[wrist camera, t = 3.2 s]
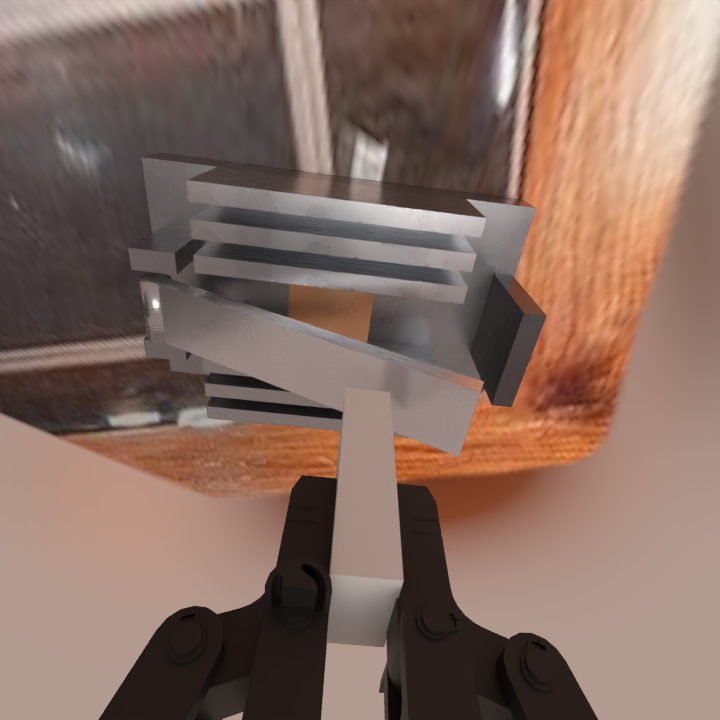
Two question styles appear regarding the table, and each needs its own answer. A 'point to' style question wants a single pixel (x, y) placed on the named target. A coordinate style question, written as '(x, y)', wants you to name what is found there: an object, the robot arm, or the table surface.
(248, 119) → the table surface
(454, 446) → the grey flat bar
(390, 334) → the heatsink
